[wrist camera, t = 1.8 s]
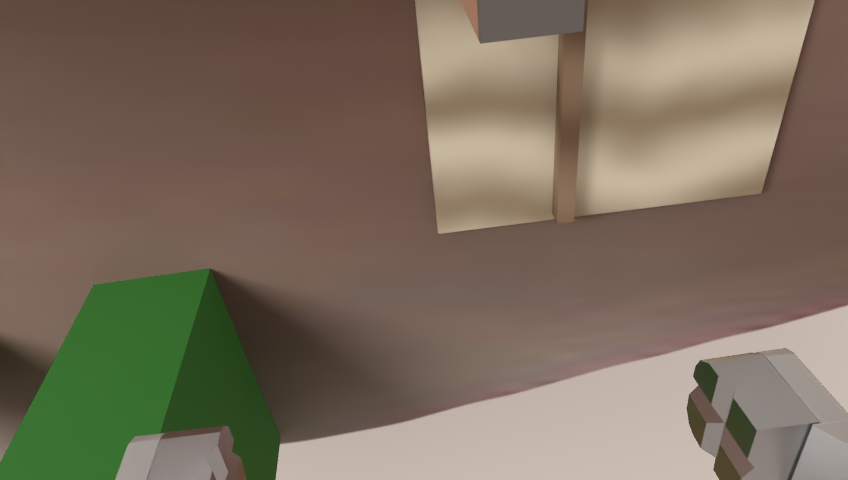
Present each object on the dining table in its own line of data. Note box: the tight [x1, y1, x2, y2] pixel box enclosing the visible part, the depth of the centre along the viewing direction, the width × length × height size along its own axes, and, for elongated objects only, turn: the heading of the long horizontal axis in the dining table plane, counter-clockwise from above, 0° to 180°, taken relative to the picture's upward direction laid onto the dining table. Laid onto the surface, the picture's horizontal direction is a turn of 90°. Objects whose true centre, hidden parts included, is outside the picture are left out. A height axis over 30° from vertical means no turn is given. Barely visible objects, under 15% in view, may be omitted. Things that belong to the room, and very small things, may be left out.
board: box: [415, 0, 815, 234], centre depth 34 cm, size 14×20×2 cm
